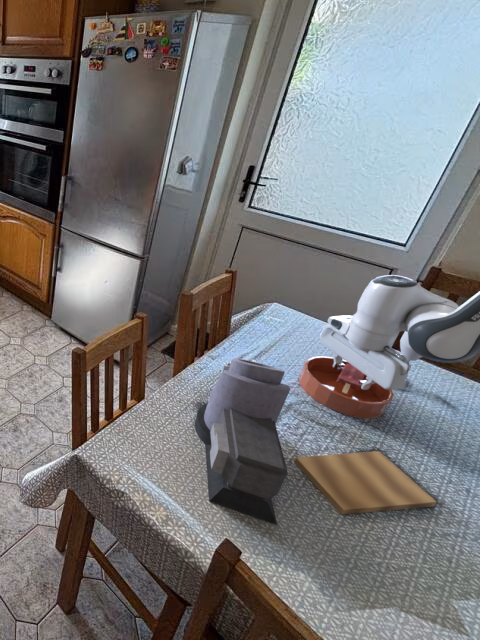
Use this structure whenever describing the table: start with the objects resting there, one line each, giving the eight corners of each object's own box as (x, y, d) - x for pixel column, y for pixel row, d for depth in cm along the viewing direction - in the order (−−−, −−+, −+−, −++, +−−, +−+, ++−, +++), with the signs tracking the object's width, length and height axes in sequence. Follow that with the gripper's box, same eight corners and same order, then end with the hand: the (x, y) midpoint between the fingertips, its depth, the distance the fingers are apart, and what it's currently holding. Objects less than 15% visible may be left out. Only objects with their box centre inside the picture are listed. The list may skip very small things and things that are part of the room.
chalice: (419, 394, 111) (452, 339, 103) (390, 391, 112) (420, 337, 104) (397, 375, 117) (427, 323, 109) (370, 373, 118) (398, 321, 110)
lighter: (220, 377, 117) (227, 355, 114) (220, 373, 119) (228, 351, 115) (249, 386, 114) (258, 363, 110) (249, 382, 115) (258, 360, 112)
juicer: (193, 399, 110) (215, 323, 99) (264, 418, 104) (296, 340, 93) (197, 497, 85) (228, 410, 75) (290, 530, 79) (337, 440, 69)
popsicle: (334, 385, 106) (346, 360, 115) (332, 391, 107) (344, 365, 116) (357, 395, 103) (367, 368, 112) (354, 400, 104) (365, 373, 113)
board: (376, 455, 94) (379, 450, 93) (433, 506, 83) (437, 502, 82) (293, 461, 93) (295, 457, 92) (340, 514, 82) (343, 509, 81)
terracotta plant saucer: (341, 368, 120) (348, 354, 118) (404, 416, 104) (413, 401, 102) (283, 371, 119) (288, 358, 117) (337, 420, 103) (345, 406, 101)
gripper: (426, 361, 94) (400, 406, 100) (345, 312, 112) (328, 353, 118) (400, 363, 94) (376, 408, 99) (323, 313, 112) (307, 354, 118)
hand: (349, 377), depth 109 cm, fingers closed on popsicle, 6 cm apart
